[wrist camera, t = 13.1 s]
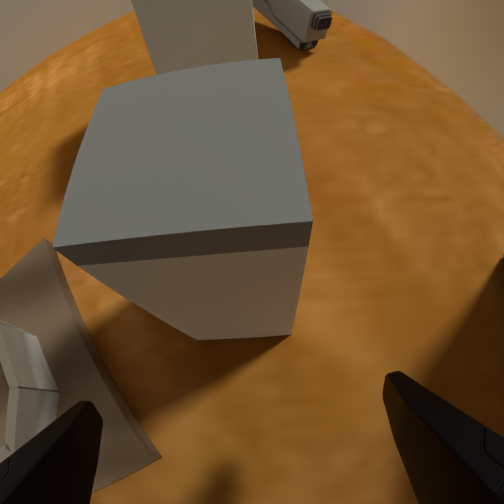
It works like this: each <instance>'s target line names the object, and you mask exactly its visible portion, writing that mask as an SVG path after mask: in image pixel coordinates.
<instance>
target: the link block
mask: <svg viewBox="0 0 504 504" xmlns="http://www.w3.org/2000/svg"><path fill="white" fill-rule="evenodd" d="M312 223H313V219H312V213H311V207H310V201H309V195H308V189H307V184H306V178H305V173H304V167H303V162H302V157H301V151H300V146H299V141H298V136H297V131H296V126H295V122H294V117H293V112H292V108H291V103H290V99H289V94H288V90H287V85H286V81H285V77H284V73H283V68H282V64H281V60H280V58H271V59H258V60H247V61H237V62H229V63H221V64H214V65H207V66H201V67H195V68H189V69H183V70H178V71H173V72H168V73H163V74H159V75H154V76H150V77H146V78H142V79H137V80H134V81H130V82H126V83H122V84H119V85H115V86H112V87H108V88H105V89H103V91H102V93H101V95H100V98H99V100H98V102H97V105H96V107H95V109H94V112H93V114H92V117H91V119H90V122H89V124H88V127H87V129H86V132H85V135H84V137H83V140H82V143H81V146H80V149H79V151H78V154H77V157H76V160H75V163H74V166H73V170H72V173H71V176H70V179H69V182H68V186H67V189H66V193H65V196H64V200H63V204H62V208H61V211H60V215H59V220H58V224H57V228H56V232H55V237H54V242H53V246H52V248H54V249H55V250H56V251H58V252H59V253H60V254H62V255H63V256H65V257H66V258H67V259H69V260H70V261H72V262H73V263H74V264H76V265H77V266H79V267H80V268H81V269H83V270H84V271H86V272H87V273H89V274H90V275H92V276H93V277H95V278H96V279H97V280H99V281H100V282H102V283H103V284H105V285H106V286H108V287H109V288H111V289H113V290H114V291H116V292H117V293H119V294H120V295H122V296H123V297H125V298H126V299H128V300H130V301H131V302H133V303H134V304H136V305H138V306H139V307H141V308H142V309H144V310H146V311H147V312H149V313H151V314H152V315H154V316H156V317H157V318H159V319H161V320H162V321H164V322H166V323H167V324H169V325H171V326H173V327H174V328H176V329H178V330H179V331H181V332H183V333H185V334H187V335H188V336H190V337H192V338H194V339H195V340H216V339H237V338H254V337H269V336H281V335H291V333H292V329H293V324H294V319H295V314H296V309H297V304H298V299H299V294H300V289H301V284H302V279H303V274H304V268H305V263H306V257H307V252H308V246H309V240H310V235H311V229H312Z"/></svg>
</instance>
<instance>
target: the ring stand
mask: <svg viewBox="0 0 504 504" xmlns="http://www.w3.org/2000/svg"><path fill="white" fill-rule="evenodd" d="M52 246H53V244H52V243H50V242H49V241H48V240H46V239H45V238H44V239H43V240H42V241H41V242H40V243H38V244H37V245H36V246H35V247H34V248H33V249H32V250H31V251H29V252H28V253H27V254H26V255H25V256H24V257H23V258H22V259H21V260H20V261H19V262H18V263H16V264H15V265H14V266H13V267H12V268H11V269H10V270H9V271H8V272H7V273H6V274H5V275H4V276H3V277H2V278H1V279H0V463H1V462H2V461H4V460H5V459H6V458H7V457H9V456H10V455H11V454H13V453H14V452H15V451H16V450H18V449H19V448H20V447H21V446H23V445H24V444H25V443H27V442H28V441H29V440H30V439H32V438H33V437H34V436H35V435H37V434H38V433H39V432H41V431H42V430H43V429H44V428H46V427H47V426H48V425H49V424H51V423H52V422H53V421H54V420H56V419H57V418H58V417H60V416H61V415H62V414H63V413H65V412H66V411H67V410H68V409H70V408H71V407H72V406H73V405H75V404H76V403H77V402H79V401H81V400H85V401H91V402H92V403H93V404H94V405H95V407H96V409H97V410H98V412H99V413H100V415H101V417H102V419H103V428H102V436H101V444H100V452H99V459H98V465H97V470H96V475H95V479H94V484H93V489H92V492H94V491H96V490H99V489H101V488H103V487H105V486H107V485H109V484H111V483H113V482H116V481H118V480H120V479H122V478H124V477H126V476H128V475H130V474H132V473H134V472H136V471H137V470H139V469H141V468H143V467H145V466H147V465H149V464H151V463H152V462H154V461H156V460H158V459H160V458H162V457H161V455H160V454H159V452H158V451H157V450H156V448H155V447H154V445H153V444H152V442H151V441H150V439H149V438H148V436H147V435H146V433H145V432H144V430H143V429H142V427H141V426H140V424H139V423H138V421H137V420H136V418H135V416H134V415H133V413H132V412H131V410H130V408H129V407H128V405H127V403H126V402H125V400H124V398H123V397H122V395H121V393H120V392H119V390H118V388H117V386H116V385H115V383H114V381H113V379H112V377H111V376H110V374H109V372H108V370H107V368H106V366H105V364H104V362H103V360H102V359H101V357H100V355H99V353H98V351H97V349H96V347H95V345H94V343H93V341H92V338H91V336H90V334H89V332H88V330H87V328H86V326H85V323H84V321H83V319H82V317H81V314H80V312H79V310H78V308H77V305H76V303H75V300H74V298H73V296H72V293H71V291H70V288H69V286H68V283H67V281H66V278H65V275H64V273H63V270H62V267H61V264H60V262H59V259H58V256H57V253H56V250H55V249H54V248H52Z"/></svg>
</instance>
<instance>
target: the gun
mask: <svg viewBox="0 0 504 504" xmlns="http://www.w3.org/2000/svg"><path fill="white" fill-rule="evenodd" d="M252 6H253V7H254V8H256V9H257V10H258V11H259V12H260V13H261V14H262V15H263V16H265V17H266V18H267V19H268V20H269V21H270V22H271V23H272V24H273V25H274V26H275V27H277V28H278V29H279V30H280V31H281V32H282V33H283V34H284V35H285V36H286V37H287V38H288V39H289V40H290V41H291V42H292V43H293V44H294V45H295V46H296V47H297V48H298V49H299V50H305V49H309V48H313V47H315V46H316V45H317V42H318V40H319V39H323V38H325V36H326V33H327V29H328V28H329V27H330V24H331V21H332V17H331V14H332V11H331V9H330V8H329V7H327V6H326V5H325V4H323V3H322V2H321V1H320V0H252Z"/></svg>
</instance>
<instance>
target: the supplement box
mask: <svg viewBox="0 0 504 504" xmlns="http://www.w3.org/2000/svg"><path fill="white" fill-rule="evenodd" d="M131 1H132V4H133V6H134V10H135V13H136V16H137V19H138V22H139V25H140V28H141V31H142V34H143V37H144V40H145V42H146V45H147V48H148V51H149V54H150V57H151V60H152V63H153V65H154V68H155V71H156V74H157V75H159V74H163V73H168V72H173V71H178V70H183V69H189V68H195V67H201V66H207V65H214V64H221V63H229V62H237V61H247V60H258V52H257V42H256V33H255V24H254V15H253V6H252V0H131Z"/></svg>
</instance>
